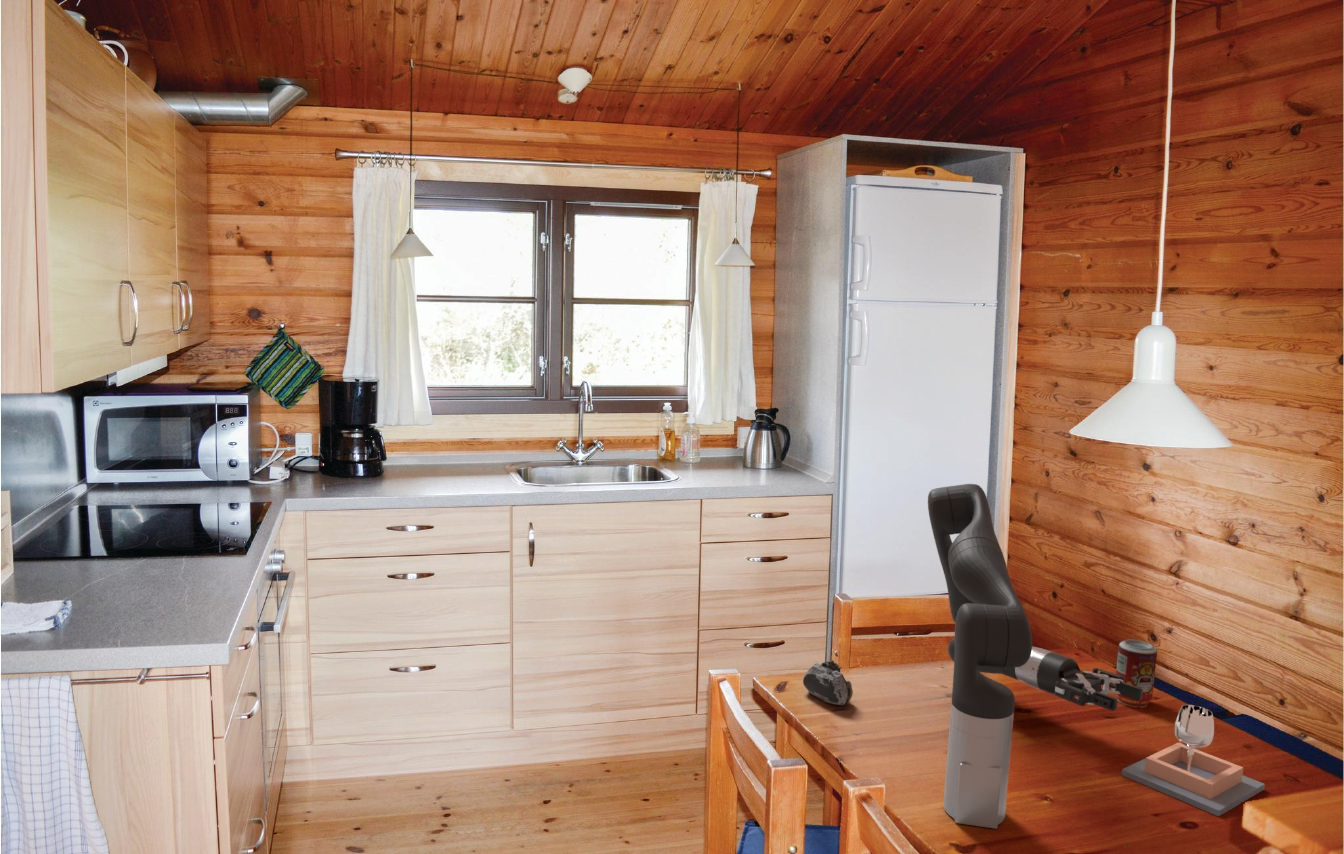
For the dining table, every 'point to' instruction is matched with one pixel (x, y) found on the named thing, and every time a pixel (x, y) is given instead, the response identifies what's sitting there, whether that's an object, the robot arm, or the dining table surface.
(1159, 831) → the dining table surface
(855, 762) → the dining table surface
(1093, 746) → the dining table surface
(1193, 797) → the glass holder
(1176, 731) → the wineglass
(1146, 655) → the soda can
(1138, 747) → the dining table surface
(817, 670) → the dark grey rock
